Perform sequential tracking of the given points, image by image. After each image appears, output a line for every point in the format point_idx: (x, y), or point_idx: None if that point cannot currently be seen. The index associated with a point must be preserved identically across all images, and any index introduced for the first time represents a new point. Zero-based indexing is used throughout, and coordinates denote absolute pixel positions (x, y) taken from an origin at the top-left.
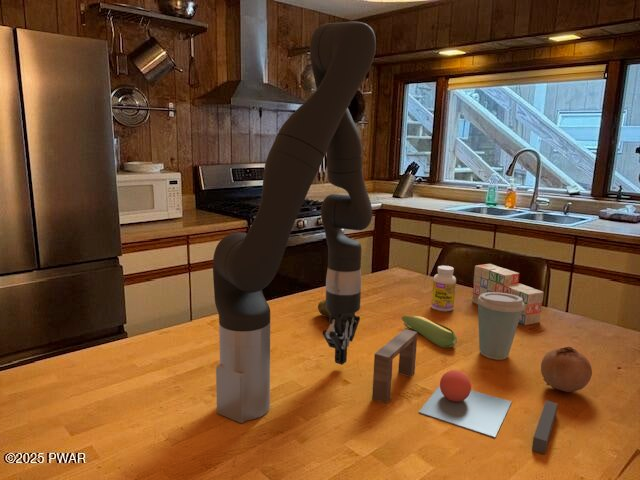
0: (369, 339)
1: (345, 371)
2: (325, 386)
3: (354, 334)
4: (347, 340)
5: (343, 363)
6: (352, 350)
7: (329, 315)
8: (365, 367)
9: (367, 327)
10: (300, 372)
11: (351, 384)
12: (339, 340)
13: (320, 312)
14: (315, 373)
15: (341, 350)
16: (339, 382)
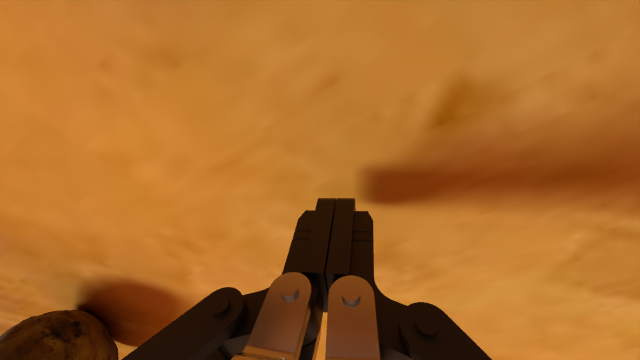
0: (52, 213)
1: (347, 163)
2: (560, 165)
3: (168, 326)
4: (292, 328)
5: (351, 199)
6: (172, 221)
7: (106, 349)
8: (238, 106)
9: (15, 250)
10: (463, 280)
11: (475, 61)
12: (308, 343)
13: (117, 357)
14: (443, 244)
15: (362, 277)
16: (481, 131)
